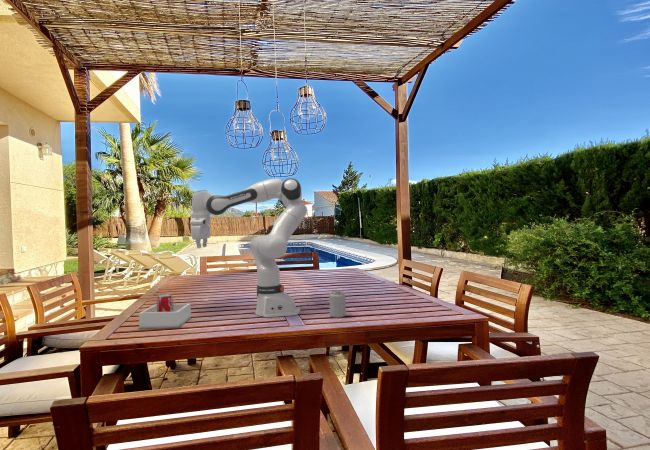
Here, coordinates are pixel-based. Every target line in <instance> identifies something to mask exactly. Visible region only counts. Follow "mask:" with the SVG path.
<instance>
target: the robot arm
mask: <svg viewBox="0 0 650 450" xmlns="http://www.w3.org/2000/svg"><path fill="white" fill-rule="evenodd" d="M302 197H303V196H302V186H301V183H300V182H299V180H298V179H296V178H293V177H291V178H287V179H285V180H282V179H280V178H270V179H265V180H261V181H258V182H256V183H253V184H251V185H250V186H248V187H247V188H244V189H243V190H241V191H237V192H234V193H232V194H227V195H222V194H221V195H220V194H213V193H211V192H209V191H208V190H205V189H203V190H198V191H195V192H194V193H193V194H192V197H191V198H192V199H191V209H192V214H191V215H192V216H191V217H192V218H191V219H190V221H189V226H190V233H191V238H192V240H193V241H195V244H196V248H197V249H201V248H202V247H203V248H205V247H207V245H208V239H210V238H211V227H210V225H211V216H210V215H213V216H219V215H223V214H225V212H226V211H227V210H228V209H230V208H233V207H235V206H239V205H243V204H247V203H254V204H257V203H259V204H260V203H264V202H268V201H271V200H274V199H279V203H280V204H281V205H282V207H283V208H284V210H283V211H282V212H281V213H280V214H279V216H278V217H277V218H276V219H275V220H274V222H273V223H272V228H271V231H270V232H269V233H268V234H267V235H266V234H265V235H258V236H255V237H254V238H252V239H251V240H250V243H249V249H250V251H251V253H252V255H253V258H254V263H255V265H256V272H257V273H256V276H257V277H256V278H257V285H256V297H257V298H256V300H257V301H256V307H255V311H254V314H255V315H256V316H260V317H264V318H274V317H275V318H276V317H288V316H289V317H290V316H291V317H292V316H297V315H299V314H300V312H301V309H300V307H298V306H296V302H295V299H294V298H293V296H290V294H288V293H287V292H285V286H284V285H283V284H281V283H280V281H281V279H280V267H279V266H278V264H277V262H276V259H277V258H281V257H283V256H284V255H285V254H286V253H287V250H288V245H287V244H288V242H289V239H290V238H291V236H292V235H293V234H294V232H295V231H296V230H297V229H298V227H299V226H300V225H301V224H302V222H303V221H304V219H305V217H306V215H307V214H308V208H307V206H306V204H305V203H304V202H302ZM201 240H202V241H201ZM201 243H202V244H201Z"/></svg>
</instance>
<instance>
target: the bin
mask: <svg viewBox="0 0 650 450" xmlns="http://www.w3.org/2000/svg"><path fill="white" fill-rule="evenodd" d="M191 304H192V303H173V312H157V303H155V304H154V305H152V306H150V307H148V308H146V309H144V310H142V311H141V312H139V313H138V325H139V326H138V329H139V330H147V329H148V330H150V329H153V330H154V329H155V330H157V329H179V328H180V327H181V326H182V325H184V324H186V322H187V321H189V320H190V319H191V318H192V311H191V308H192V306H191Z"/></svg>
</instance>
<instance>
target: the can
mask: <svg viewBox="0 0 650 450" xmlns="http://www.w3.org/2000/svg"><path fill="white" fill-rule="evenodd" d="M346 311H347V310H346V294H345V293H344V290H340V289H339V290H331V291H330V293H329V316H331V318H335V319H336V318H338V319H340V318H344V317H345V316H346Z"/></svg>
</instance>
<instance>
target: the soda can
mask: <svg viewBox="0 0 650 450" xmlns="http://www.w3.org/2000/svg"><path fill="white" fill-rule="evenodd" d="M156 304H157V312H173V304H174V298H173V296H172V294H171V293H164V294H163V293H162V294H159V295H157V299H156Z"/></svg>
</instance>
